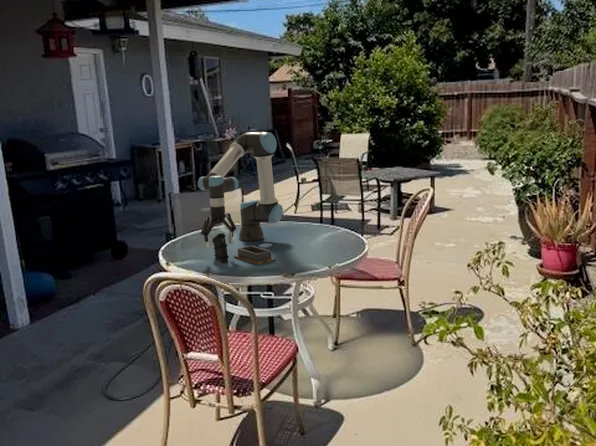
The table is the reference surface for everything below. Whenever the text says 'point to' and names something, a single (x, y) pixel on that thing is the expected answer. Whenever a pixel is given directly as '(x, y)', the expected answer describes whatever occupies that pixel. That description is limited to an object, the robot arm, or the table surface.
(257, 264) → the board
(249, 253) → the cradle
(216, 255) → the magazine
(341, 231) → the table surface
